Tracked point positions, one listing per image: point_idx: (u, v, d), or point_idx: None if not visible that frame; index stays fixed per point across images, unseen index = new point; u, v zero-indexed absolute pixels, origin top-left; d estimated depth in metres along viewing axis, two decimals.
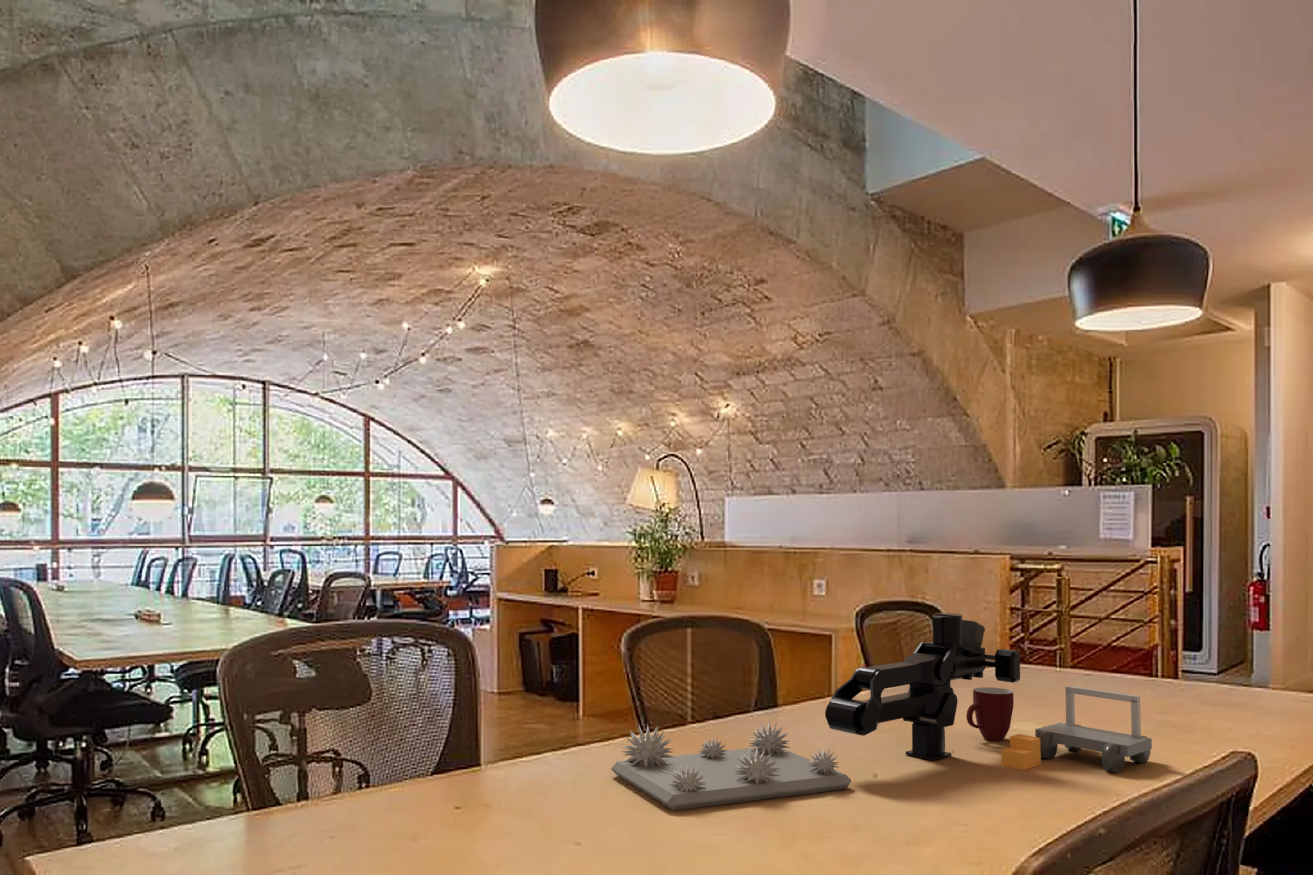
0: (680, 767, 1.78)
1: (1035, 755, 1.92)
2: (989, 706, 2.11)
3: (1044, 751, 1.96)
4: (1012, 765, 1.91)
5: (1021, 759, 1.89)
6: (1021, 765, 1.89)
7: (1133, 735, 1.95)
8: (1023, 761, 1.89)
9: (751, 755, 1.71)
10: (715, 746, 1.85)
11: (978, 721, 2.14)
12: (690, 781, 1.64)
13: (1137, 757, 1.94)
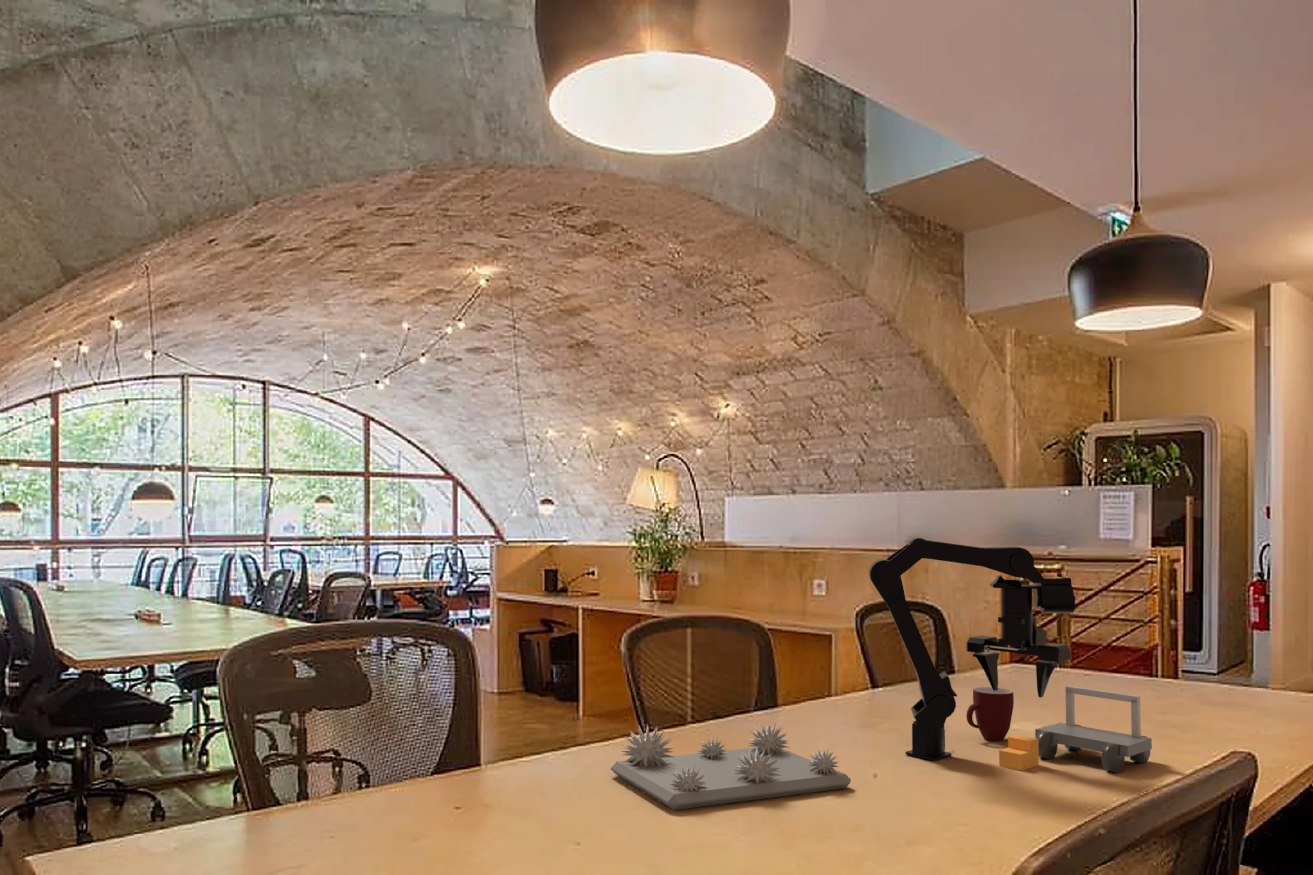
0: (680, 767, 1.78)
1: (1033, 755, 1.92)
2: (989, 706, 2.11)
3: (1044, 751, 1.96)
4: (1010, 766, 1.90)
5: (1019, 760, 1.89)
6: (1019, 765, 1.89)
7: (1133, 735, 1.95)
8: (1021, 762, 1.89)
9: (751, 755, 1.71)
10: (715, 746, 1.85)
11: (978, 721, 2.14)
12: (691, 780, 1.64)
13: (1137, 757, 1.94)
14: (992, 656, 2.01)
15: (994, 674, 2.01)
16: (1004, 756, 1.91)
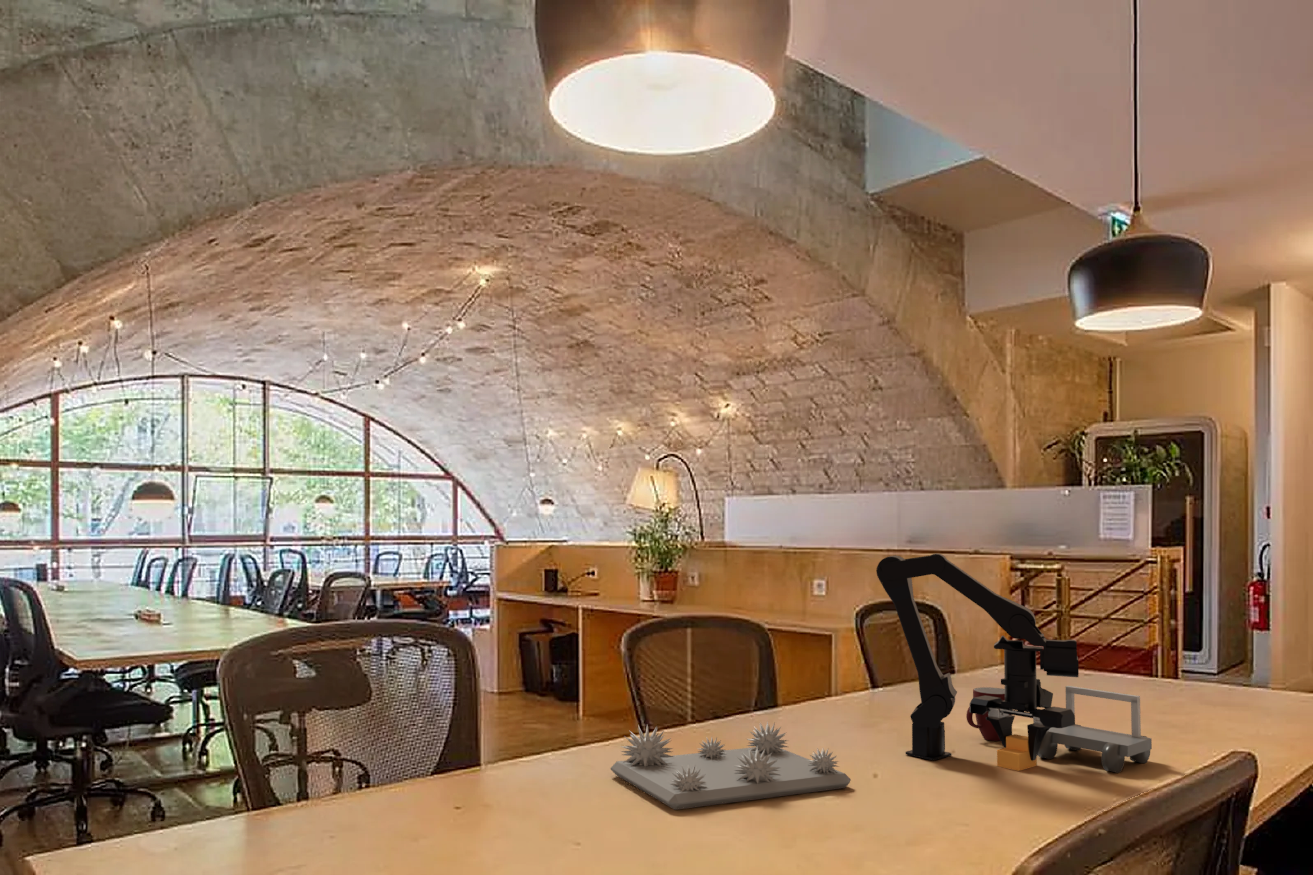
0: (680, 767, 1.78)
1: None
2: None
3: (1044, 751, 1.96)
4: (1008, 765, 1.90)
5: (1017, 759, 1.89)
6: (1017, 765, 1.88)
7: (1133, 735, 1.95)
8: (1019, 761, 1.88)
9: (751, 754, 1.72)
10: (714, 746, 1.85)
11: (978, 721, 2.14)
12: (691, 780, 1.64)
13: (1137, 757, 1.94)
14: (1006, 720, 1.95)
15: None
16: (1002, 756, 1.91)
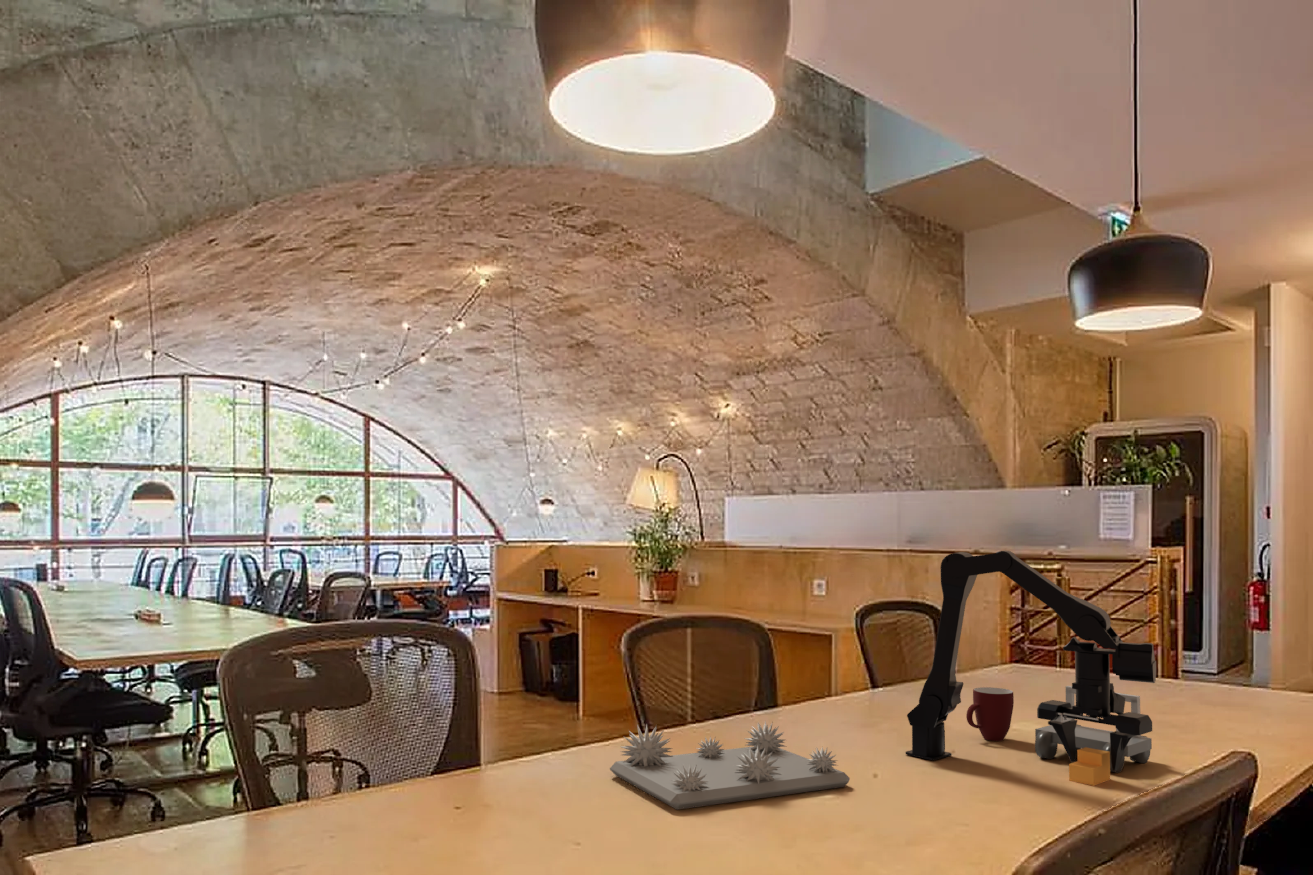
0: (679, 767, 1.78)
1: (1104, 769, 1.82)
2: (989, 706, 2.11)
3: (1044, 751, 1.96)
4: (1081, 780, 1.80)
5: (1091, 774, 1.79)
6: (1092, 780, 1.79)
7: None
8: (1094, 776, 1.79)
9: (751, 754, 1.72)
10: (713, 745, 1.86)
11: (978, 721, 2.14)
12: (693, 780, 1.64)
13: (1137, 757, 1.94)
14: (1069, 725, 1.87)
15: (1072, 744, 1.87)
16: (1075, 770, 1.81)
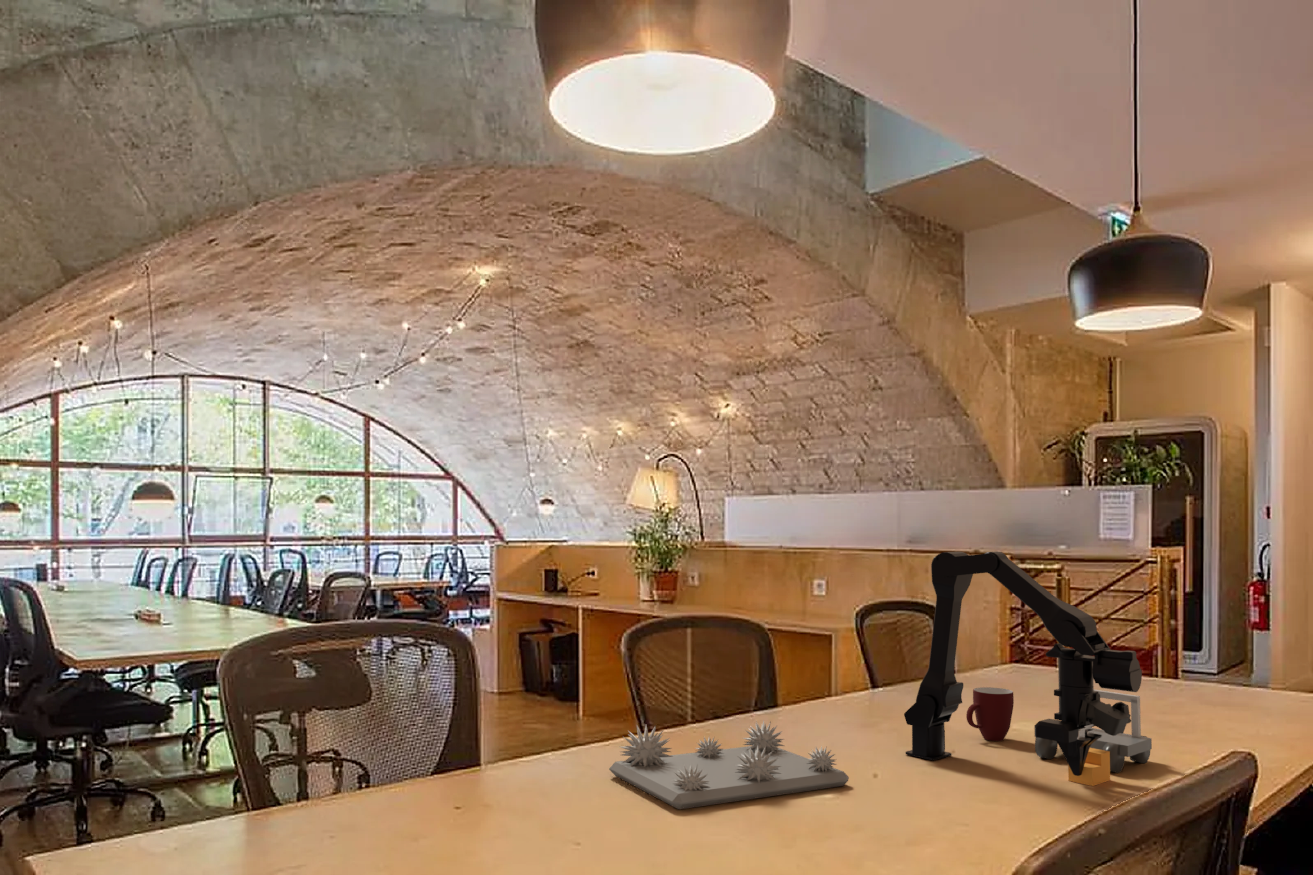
0: (679, 766, 1.78)
1: (1104, 769, 1.81)
2: (989, 706, 2.11)
3: (1044, 751, 1.96)
4: (1080, 780, 1.80)
5: (1090, 774, 1.79)
6: (1091, 780, 1.79)
7: (1133, 735, 1.95)
8: (1093, 776, 1.79)
9: (752, 753, 1.72)
10: (712, 745, 1.86)
11: (978, 721, 2.14)
12: (694, 780, 1.64)
13: (1137, 757, 1.94)
14: None
15: None
16: None
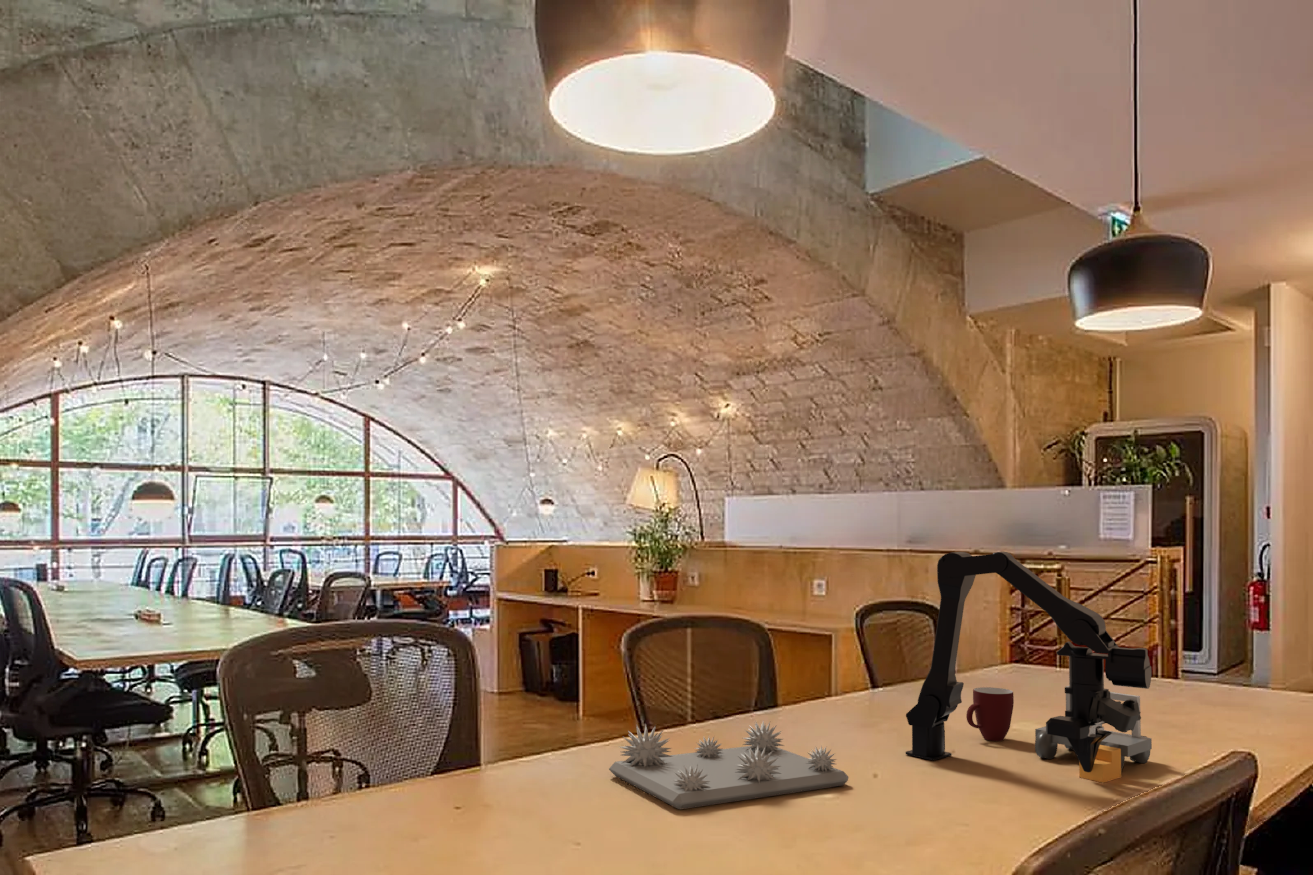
0: (679, 766, 1.78)
1: (1115, 766, 1.84)
2: (989, 706, 2.11)
3: (1044, 751, 1.96)
4: (1091, 777, 1.82)
5: (1101, 771, 1.81)
6: (1101, 777, 1.81)
7: (1133, 735, 1.95)
8: (1103, 773, 1.81)
9: (752, 753, 1.72)
10: (711, 745, 1.86)
11: (978, 721, 2.14)
12: (694, 780, 1.64)
13: (1137, 757, 1.94)
14: None
15: None
16: None
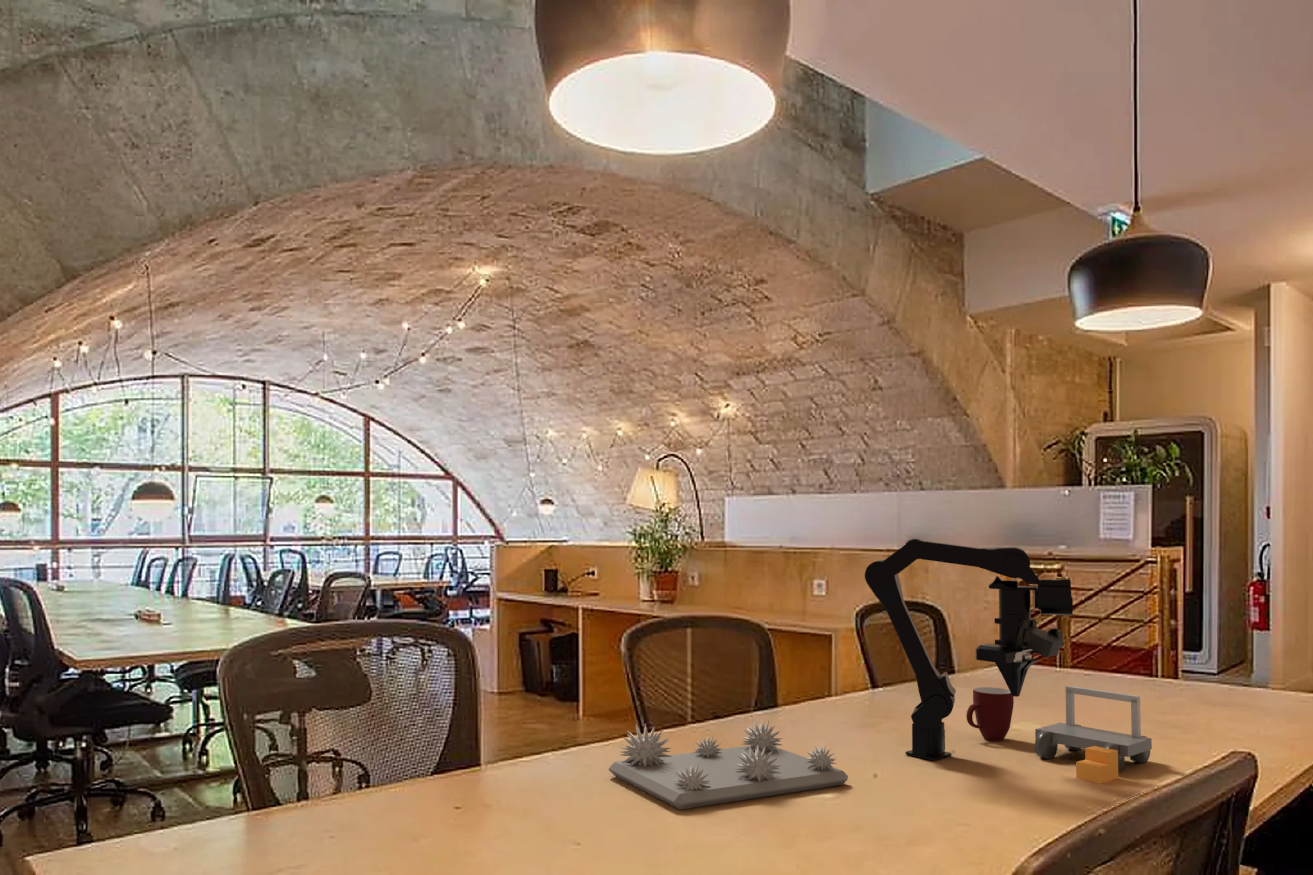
0: (679, 766, 1.78)
1: (1112, 768, 1.83)
2: (989, 706, 2.11)
3: (1044, 751, 1.96)
4: (1088, 778, 1.82)
5: (1098, 772, 1.80)
6: (1098, 778, 1.80)
7: (1133, 735, 1.95)
8: (1100, 774, 1.80)
9: (752, 753, 1.73)
10: (711, 745, 1.86)
11: (978, 721, 2.14)
12: (695, 780, 1.64)
13: (1137, 757, 1.94)
14: None
15: None
16: (1081, 768, 1.83)
